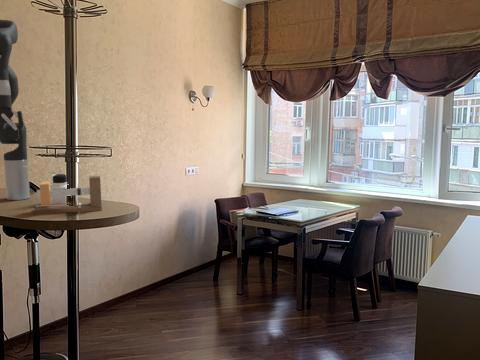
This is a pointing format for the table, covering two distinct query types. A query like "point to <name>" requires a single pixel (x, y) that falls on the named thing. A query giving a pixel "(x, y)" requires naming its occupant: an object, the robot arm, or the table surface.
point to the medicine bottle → (58, 187)
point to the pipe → (67, 192)
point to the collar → (45, 193)
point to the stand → (92, 206)
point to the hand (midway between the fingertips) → (2, 141)
